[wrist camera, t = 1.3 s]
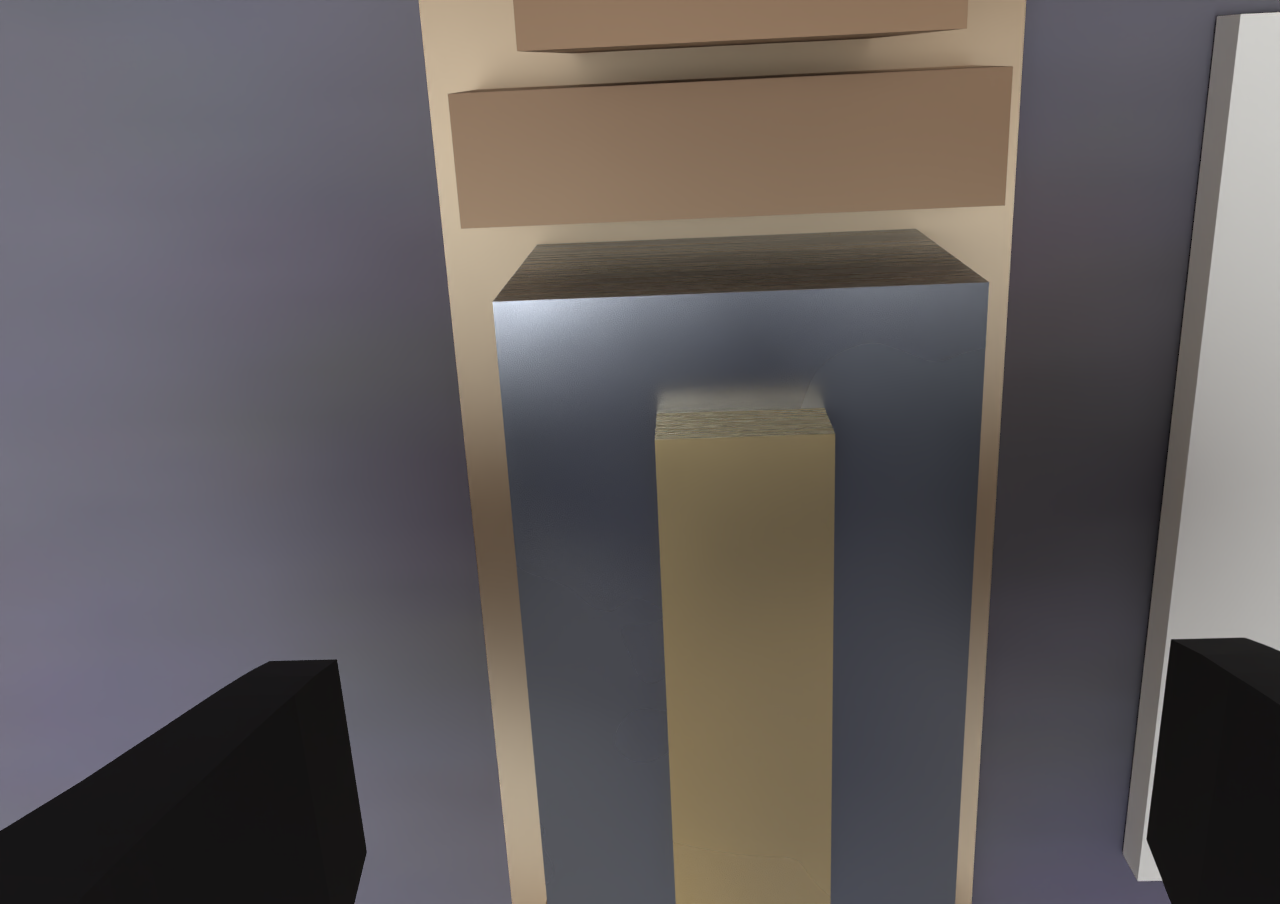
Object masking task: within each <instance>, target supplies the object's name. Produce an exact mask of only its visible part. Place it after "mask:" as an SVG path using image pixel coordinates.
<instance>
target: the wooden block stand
mask: <svg viewBox="0 0 1280 904" xmlns="http://www.w3.org/2000/svg"><path fill="white" fill-rule="evenodd" d="M419 8H420V18H421V28H422V37H423V47H424V57H425V66H426V76H427V86H428V95H429V105H430V115H431V124H432V134H433V144H434V153H435V163H436V173H437V182H438V192H439V202H440V211H441V221H442V230H443V240H444V250H445V259H446V269H447V279H448V288H449V298H450V308H451V317H452V327H453V337H454V346H455V356H456V366H457V375H458V385H459V395H460V404H461V414H462V424H463V433H464V443H465V453H466V462H467V472H468V482H469V491H470V501H471V511H472V520H473V530H474V539H475V549H476V559H477V568H478V578H479V588H480V597H481V607H482V617H483V626H484V636H485V646H486V655H487V665H488V675H489V684H490V694H491V704H492V713H493V723H494V733H495V742H496V752H497V762H498V771H499V781H500V791H501V800H502V810H503V820H504V829H505V839H506V849H507V858H508V868H509V877H510V887H511V897H512V904H547V896H546V885H545V874H544V863H543V852H542V841H541V830H540V819H539V808H538V797H537V786H536V775H535V764H534V754H533V743H532V732H531V721H530V710H529V699H528V688H527V677H526V666H525V655H524V644H523V633H522V622H521V611H520V600H519V589H518V578H517V567H516V556H515V545H514V534H513V523H512V512H511V501H510V490H509V479H508V468H507V457H506V446H505V435H504V424H503V413H502V402H501V391H500V380H499V369H498V358H497V347H496V336H495V325H494V314H493V303H492V302H493V300H494V299H495V298H496V297H497V295H498V294H499V293H500V291H501V290H502V289H503V288H504V286H505V285H506V284H507V282H508V281H509V280H510V279H511V277H512V276H513V275H514V274H515V272H516V271H517V270H518V268H519V267H520V266H521V265H522V263H523V262H524V261H525V259H526V258H527V257H528V256H529V254H530V253H531V252H532V250H533V249H534V248H535V247H536V245H538V244H562V243H586V242H610V241H633V240H657V239H681V238H705V237H729V236H753V235H776V234H800V233H824V232H848V231H872V230H896V229H917V230H918V231H920V232H921V233H923V234H924V235H925V236H927V237H928V238H929V239H931V240H932V241H933V242H935V243H936V244H938V245H939V246H940V247H942V248H943V249H944V250H946V251H947V252H949V253H950V254H951V255H953V256H954V257H955V258H957V259H958V260H959V261H961V262H962V263H964V264H965V265H966V266H968V267H969V268H970V269H972V270H973V271H975V272H976V273H977V274H979V275H980V276H981V277H983V278H984V279H985V280H987V281H988V282H989V295H988V313H987V331H986V349H985V368H984V386H983V404H982V422H981V441H980V459H979V477H978V495H977V514H976V532H975V550H974V568H973V587H972V605H971V623H970V641H969V660H968V678H967V696H966V714H965V733H964V751H963V769H962V788H961V806H960V824H959V842H958V861H957V879H956V897H955V904H971V903H972V886H973V870H974V853H975V837H976V820H977V804H978V787H979V771H980V754H981V738H982V721H983V705H984V688H985V672H986V655H987V639H988V622H989V605H990V589H991V572H992V556H993V539H994V523H995V506H996V490H997V473H998V457H999V440H1000V424H1001V407H1002V391H1003V374H1004V358H1005V341H1006V325H1007V308H1008V292H1009V275H1010V259H1011V242H1012V226H1013V209H1014V193H1015V176H1016V160H1017V143H1018V127H1019V110H1020V94H1021V77H1022V61H1023V44H1024V28H1025V11H1026V0H419Z"/></svg>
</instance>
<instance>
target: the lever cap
mask: <svg viewBox="0 0 1280 904" xmlns="http://www.w3.org/2000/svg"><path fill="white" fill-rule="evenodd" d="M988 295H989V282H988V281H987V280H985V279H984V278H983V277H981V276H980V275H979V274H977V273H976V272H975V271H973V270H972V269H970V268H969V267H968V266H966V265H965V264H964V263H962V262H961V261H959V260H958V259H957V258H955V257H954V256H953V255H951V254H950V253H949V252H947V251H946V250H944V249H943V248H942V247H940V246H939V245H938V244H936V243H935V242H933V241H932V240H931V239H929V238H928V237H927V236H925V235H924V234H923V233H921V232H920V231H918V230H917V229H896V230H872V231H848V232H824V233H800V234H776V235H753V236H729V237H705V238H681V239H657V240H633V241H610V242H586V243H562V244H538V245H536V247H535V248H534V249H533V250H532V252H531V253H530V254H529V256H528V257H527V258H526V259H525V261H524V262H523V263H522V265H521V266H520V267H519V268H518V270H517V271H516V272H515V274H514V275H513V276H512V277H511V279H510V280H509V281H508V282H507V284H506V285H505V286H504V288H503V289H502V290H501V291H500V293H499V294H498V295H497V297H496V298H495V299H494V300H493V302H492V303H493V314H494V325H495V336H496V347H497V358H498V369H499V380H500V391H501V402H502V413H503V424H504V435H505V446H506V457H507V468H508V479H509V490H510V501H511V512H512V523H513V534H514V545H515V556H516V567H517V578H518V589H519V600H520V611H521V622H522V633H523V644H524V655H525V666H526V677H527V688H528V699H529V710H530V721H531V732H532V743H533V754H534V764H535V775H536V786H537V797H538V808H539V819H540V830H541V841H542V852H543V863H544V874H545V885H546V896H547V904H955V897H956V879H957V861H958V842H959V824H960V806H961V788H962V769H963V751H964V733H965V714H966V696H967V678H968V660H969V641H970V623H971V605H972V587H973V568H974V550H975V532H976V514H977V495H978V477H979V459H980V441H981V422H982V404H983V386H984V368H985V349H986V331H987V313H988Z"/></svg>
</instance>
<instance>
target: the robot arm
mask: <svg viewBox="0 0 1280 904" xmlns="http://www.w3.org/2000/svg"><path fill="white" fill-rule="evenodd" d="M1146 840H1147V843H1148V845H1149V848H1150V850H1151V853H1152V855H1153V858H1154V860H1155V863H1156V866H1157V868H1158V871H1159V873H1160V876H1161V878H1162V881H1163V883H1164V886H1165V889H1166V891H1167V894H1168V896H1169V899H1170V901H1171V903H1172V904H1280V651H1279V650H1276V649H1274V648H1272V647H1269V646H1267V645H1264V644H1261V643H1259V642H1256V641H1253V640H1251V639H1248V638H1245V637H1243V638H1202V639H1171V643H1170V651H1169V659H1168V667H1167V675H1166V684H1165V692H1164V700H1163V708H1162V716H1161V724H1160V732H1159V740H1158V748H1157V757H1156V765H1155V773H1154V781H1153V789H1152V797H1151V805H1150V813H1149V821H1148V829H1147V838H1146ZM366 853H367V851H366V844H365V838H364V831H363V825H362V818H361V812H360V805H359V799H358V792H357V786H356V780H355V773H354V767H353V760H352V754H351V747H350V741H349V734H348V728H347V722H346V715H345V709H344V702H343V696H342V689H341V683H340V676H339V670H338V664H337V660H300V661H269V662H267V663H265V664H263V665H261V666H259V667H257V668H256V669H254V670H252V671H250V672H248V673H247V674H245V675H243V676H241V677H240V678H238V679H237V680H235V681H233V682H232V683H230V684H229V685H227V686H225V687H224V688H222V689H221V690H219V691H218V692H216V693H214V694H213V695H211V696H210V697H208V698H207V699H205V700H204V701H202V702H201V703H199V704H198V705H196V706H195V707H193V708H192V709H190V710H189V711H187V712H186V713H184V714H183V715H181V716H180V717H178V718H177V719H175V720H174V721H172V722H171V723H169V724H168V725H166V726H165V727H163V728H162V729H160V730H159V731H157V732H156V733H154V734H153V735H151V736H150V737H148V738H146V739H145V740H143V741H142V742H140V743H139V744H137V745H136V746H134V747H133V748H131V749H130V750H128V751H127V752H125V753H124V754H122V755H121V756H119V757H118V758H116V759H115V760H113V761H112V762H110V763H109V764H107V765H106V766H104V767H103V768H101V769H100V770H98V771H97V772H95V773H93V774H92V775H90V776H89V777H87V778H86V779H84V780H83V781H81V782H80V783H78V784H76V785H75V786H73V787H72V788H70V789H68V790H67V791H65V792H63V793H62V794H60V795H58V796H57V797H55V798H54V799H52V800H50V801H49V802H47V803H45V804H44V805H42V806H40V807H39V808H37V809H36V810H34V811H32V812H31V813H29V814H27V815H26V816H24V817H22V818H21V819H19V820H18V821H16V822H14V823H13V824H11V825H9V826H8V827H6V828H4V829H3V830H1V831H0V904H354V902H355V898H356V894H357V890H358V886H359V882H360V877H361V873H362V869H363V865H364V861H365V857H366Z"/></svg>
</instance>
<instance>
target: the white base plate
mask: <svg viewBox="0 0 1280 904" xmlns="http://www.w3.org/2000/svg"><path fill="white" fill-rule="evenodd" d="M1243 637H1245V638H1248V639H1251V640H1253V641H1256V642H1259V643H1261V644H1264V645H1267V646H1269V647H1272V648H1274V649H1276V650H1279V651H1280V12H1275V13H1255V14H1237V15H1224V16H1217V21H1216V30H1215V39H1214V48H1213V57H1212V66H1211V75H1210V83H1209V92H1208V101H1207V110H1206V119H1205V128H1204V137H1203V146H1202V154H1201V163H1200V172H1199V181H1198V190H1197V199H1196V208H1195V217H1194V225H1193V234H1192V243H1191V252H1190V261H1189V270H1188V279H1187V288H1186V296H1185V305H1184V314H1183V323H1182V332H1181V341H1180V350H1179V359H1178V367H1177V376H1176V385H1175V394H1174V403H1173V412H1172V421H1171V430H1170V438H1169V447H1168V456H1167V465H1166V474H1165V483H1164V492H1163V501H1162V509H1161V518H1160V527H1159V536H1158V545H1157V554H1156V563H1155V572H1154V581H1153V589H1152V598H1151V607H1150V616H1149V625H1148V634H1147V643H1146V652H1145V660H1144V669H1143V678H1142V687H1141V696H1140V705H1139V714H1138V723H1137V731H1136V740H1135V749H1134V758H1133V767H1132V776H1131V785H1130V794H1129V802H1128V811H1127V820H1126V829H1125V838H1124V847H1123V856H1124V857H1125V859H1126V861H1127V863H1128V865H1129V866H1130V868H1131V870H1132V872H1133V874H1134V876H1135V877H1136V879H1137V881H1162V878H1161V876H1160V873H1159V871H1158V868H1157V866H1156V863H1155V860H1154V858H1153V855H1152V853H1151V850H1150V848H1149V845H1148V843H1147V840H1146V838H1147V829H1148V821H1149V813H1150V805H1151V797H1152V789H1153V781H1154V773H1155V765H1156V757H1157V748H1158V740H1159V732H1160V724H1161V716H1162V708H1163V700H1164V692H1165V684H1166V675H1167V667H1168V659H1169V651H1170V643H1171V639H1202V638H1243Z"/></svg>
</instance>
